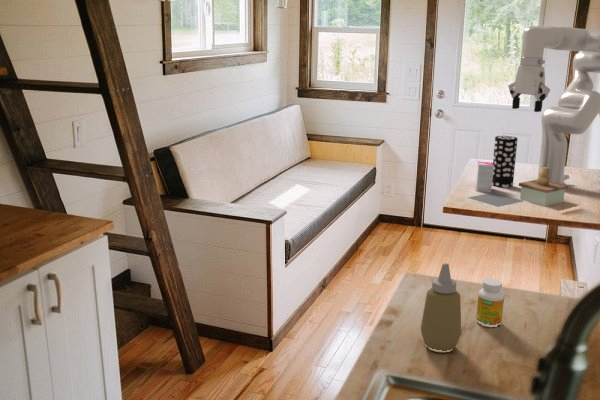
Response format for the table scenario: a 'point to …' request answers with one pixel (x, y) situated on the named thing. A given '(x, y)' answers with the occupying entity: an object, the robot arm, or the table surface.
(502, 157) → the white-spotted black cylinder
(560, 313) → the table surface
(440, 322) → the squeeze bottle
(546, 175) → the lid
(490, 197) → the mat
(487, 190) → the supplement box
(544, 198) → the green open box
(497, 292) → the supplement bottle
